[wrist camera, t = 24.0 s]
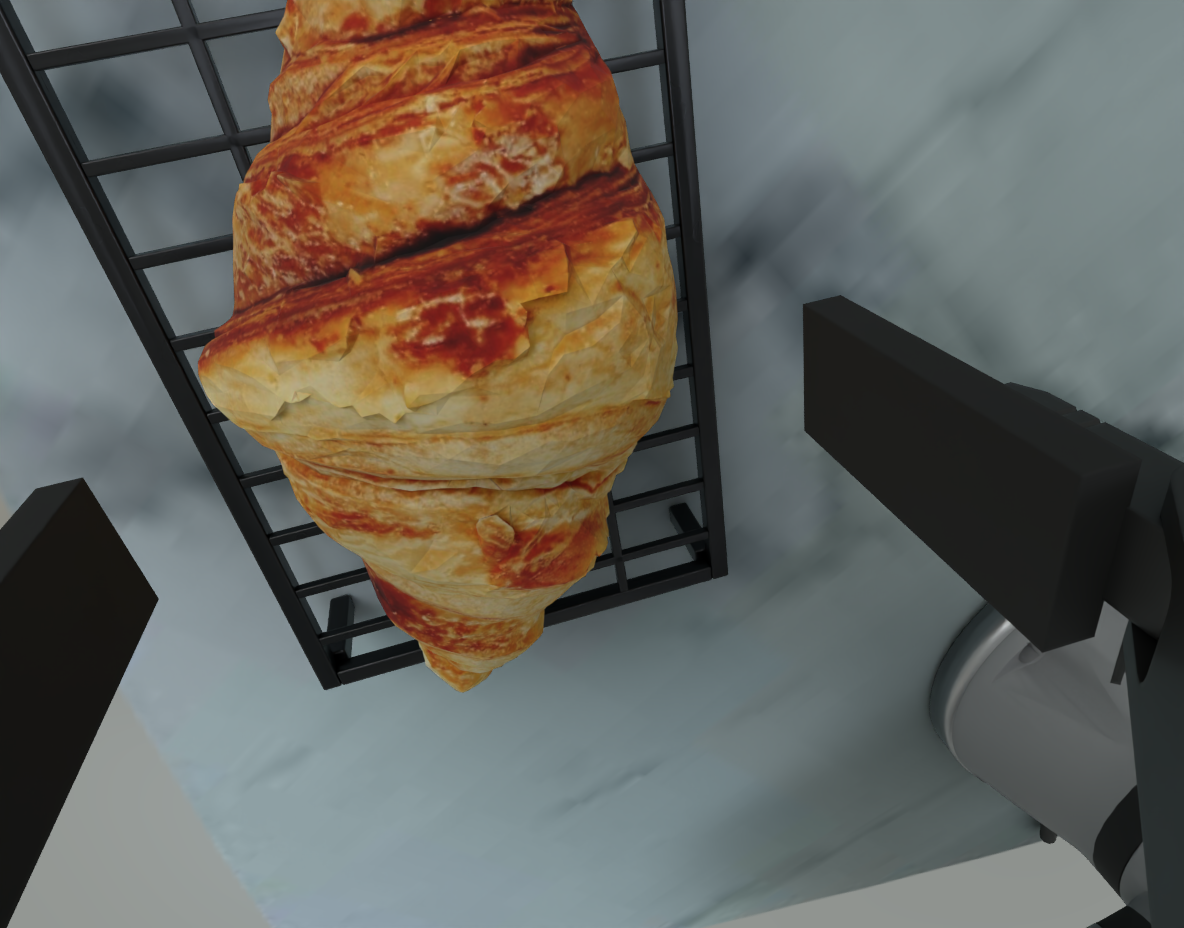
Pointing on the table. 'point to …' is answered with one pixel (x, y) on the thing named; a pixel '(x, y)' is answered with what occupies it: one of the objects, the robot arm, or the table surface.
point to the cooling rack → (23, 71)
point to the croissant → (449, 306)
